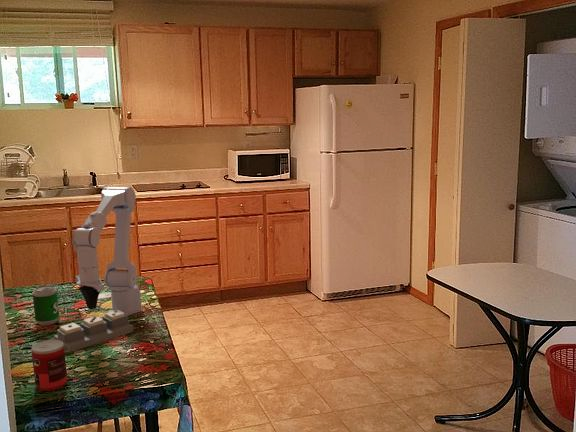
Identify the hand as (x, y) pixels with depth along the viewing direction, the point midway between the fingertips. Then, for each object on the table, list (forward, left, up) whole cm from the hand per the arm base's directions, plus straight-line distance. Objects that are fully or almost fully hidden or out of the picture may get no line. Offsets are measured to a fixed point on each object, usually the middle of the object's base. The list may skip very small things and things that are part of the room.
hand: (92, 308), depth 184 cm
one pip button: (+7, 0, -6) cm, 9 cm away
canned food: (+23, +21, -10) cm, 33 cm away
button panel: (0, 0, -9) cm, 9 cm away
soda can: (+5, -23, -10) cm, 25 cm away
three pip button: (0, 0, -6) cm, 6 cm away
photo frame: (-27, -37, -10) cm, 47 cm away
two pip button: (-8, 0, -6) cm, 9 cm away
